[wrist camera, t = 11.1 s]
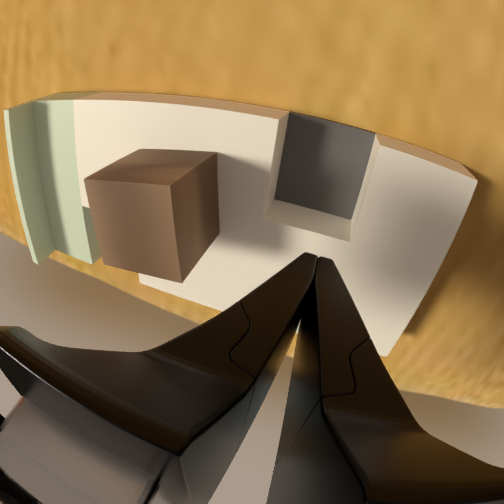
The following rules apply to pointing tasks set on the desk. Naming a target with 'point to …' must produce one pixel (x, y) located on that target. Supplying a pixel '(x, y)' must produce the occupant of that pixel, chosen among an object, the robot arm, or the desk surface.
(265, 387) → the robot arm
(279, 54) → the desk surface
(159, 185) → the walnut block
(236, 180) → the board
